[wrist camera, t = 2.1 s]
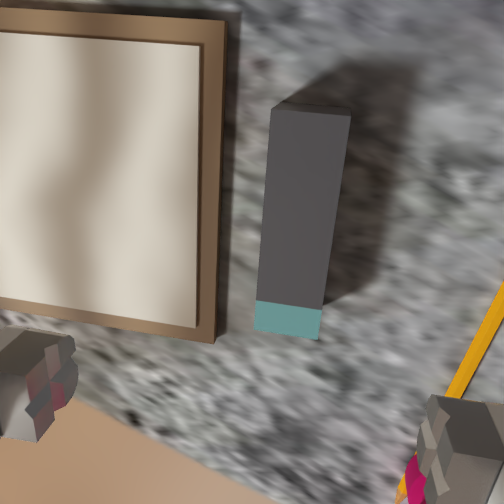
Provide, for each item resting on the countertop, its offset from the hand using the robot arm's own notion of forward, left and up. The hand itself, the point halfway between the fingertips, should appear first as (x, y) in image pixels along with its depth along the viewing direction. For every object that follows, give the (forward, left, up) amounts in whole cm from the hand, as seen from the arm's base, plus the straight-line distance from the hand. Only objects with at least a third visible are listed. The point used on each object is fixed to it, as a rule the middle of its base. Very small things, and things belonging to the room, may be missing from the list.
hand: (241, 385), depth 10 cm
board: (+11, 0, -13) cm, 16 cm away
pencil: (-10, +9, -13) cm, 19 cm away
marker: (0, 0, -13) cm, 13 cm away
